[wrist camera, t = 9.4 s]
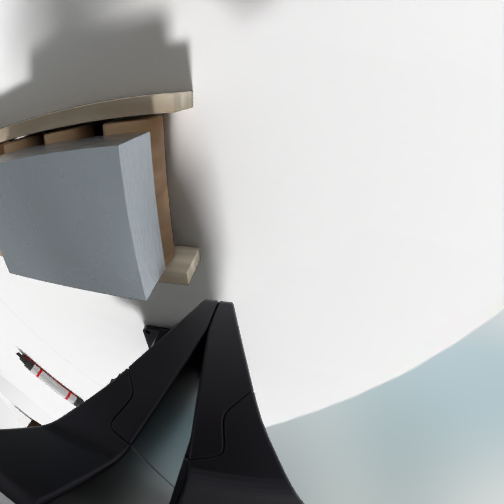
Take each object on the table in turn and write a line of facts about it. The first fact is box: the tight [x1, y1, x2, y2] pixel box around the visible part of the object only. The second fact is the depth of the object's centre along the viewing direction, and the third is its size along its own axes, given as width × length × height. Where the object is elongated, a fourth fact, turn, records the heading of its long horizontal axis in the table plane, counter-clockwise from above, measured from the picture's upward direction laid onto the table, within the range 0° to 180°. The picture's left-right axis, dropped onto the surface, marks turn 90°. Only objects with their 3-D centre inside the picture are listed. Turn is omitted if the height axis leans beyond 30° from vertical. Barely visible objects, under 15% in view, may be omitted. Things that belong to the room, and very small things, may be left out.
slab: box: [0, 132, 166, 301], centre depth 14 cm, size 8×12×3 cm, turn 89°
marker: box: [16, 353, 84, 407], centre depth 39 cm, size 15×2×2 cm, turn 42°
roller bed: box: [0, 91, 200, 285], centre depth 17 cm, size 12×21×4 cm, turn 89°
